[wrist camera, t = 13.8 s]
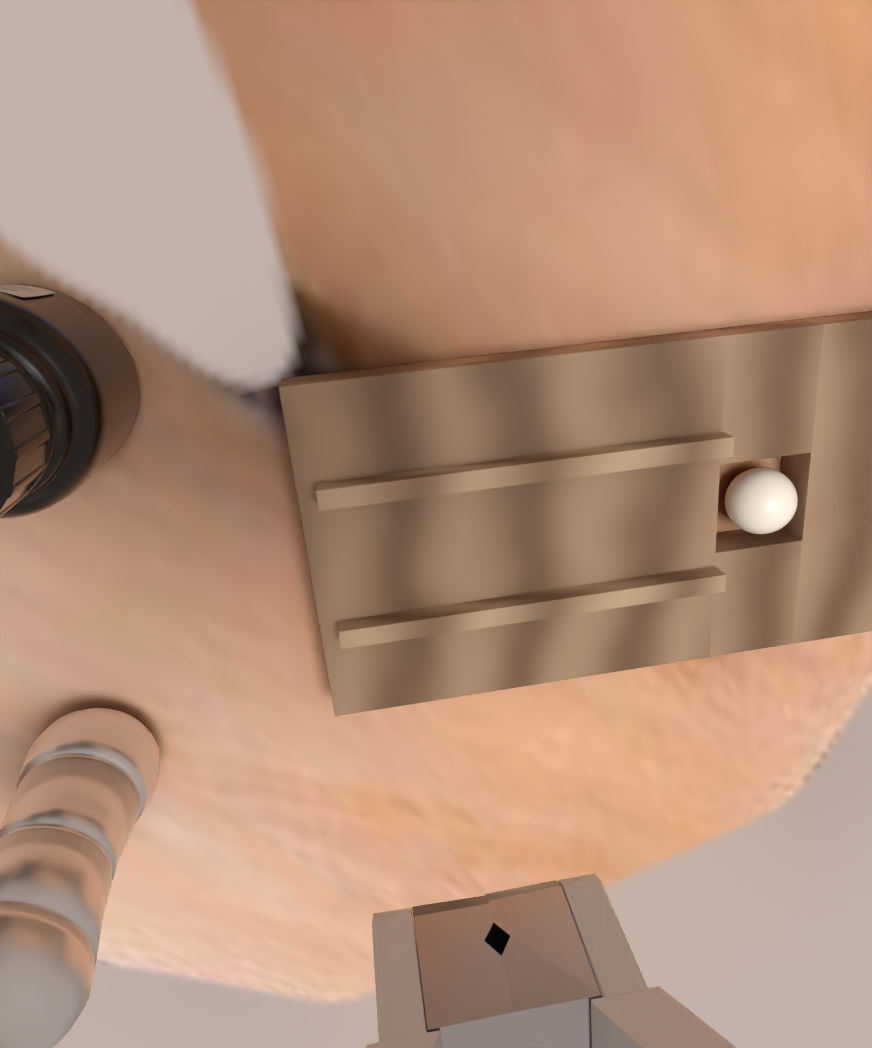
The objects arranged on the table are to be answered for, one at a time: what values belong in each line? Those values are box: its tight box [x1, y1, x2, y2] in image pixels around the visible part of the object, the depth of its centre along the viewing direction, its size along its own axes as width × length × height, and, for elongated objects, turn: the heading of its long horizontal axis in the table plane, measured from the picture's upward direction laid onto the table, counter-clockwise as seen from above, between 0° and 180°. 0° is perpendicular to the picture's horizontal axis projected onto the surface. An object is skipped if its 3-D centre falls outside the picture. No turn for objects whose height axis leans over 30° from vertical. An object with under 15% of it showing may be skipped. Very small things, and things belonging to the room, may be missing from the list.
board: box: [279, 311, 872, 716], centre depth 38 cm, size 32×18×4 cm, turn 95°
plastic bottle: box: [0, 708, 160, 1048], centre depth 31 cm, size 6×7×20 cm
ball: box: [725, 468, 798, 534], centre depth 39 cm, size 4×4×4 cm
